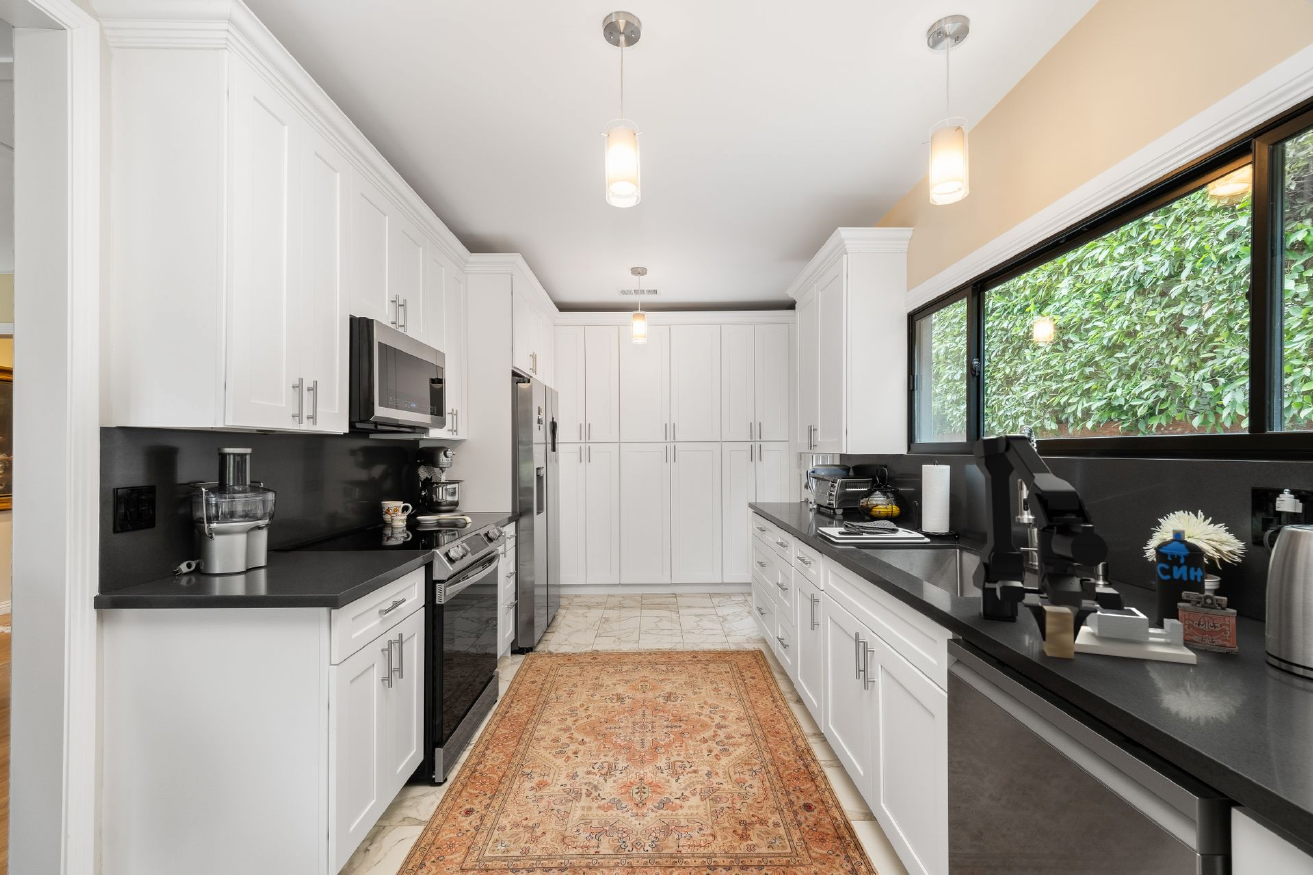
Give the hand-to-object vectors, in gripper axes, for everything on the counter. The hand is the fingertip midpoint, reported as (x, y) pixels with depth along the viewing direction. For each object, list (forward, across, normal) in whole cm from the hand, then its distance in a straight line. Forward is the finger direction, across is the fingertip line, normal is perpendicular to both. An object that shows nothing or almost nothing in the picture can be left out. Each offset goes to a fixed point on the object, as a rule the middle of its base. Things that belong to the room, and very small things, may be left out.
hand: (1057, 642), depth 108 cm
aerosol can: (+2, +27, +29) cm, 40 cm away
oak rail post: (+2, 0, 0) cm, 2 cm away
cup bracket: (0, +14, +9) cm, 16 cm away
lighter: (+2, +26, +14) cm, 30 cm away
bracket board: (+2, +11, +9) cm, 14 cm away
